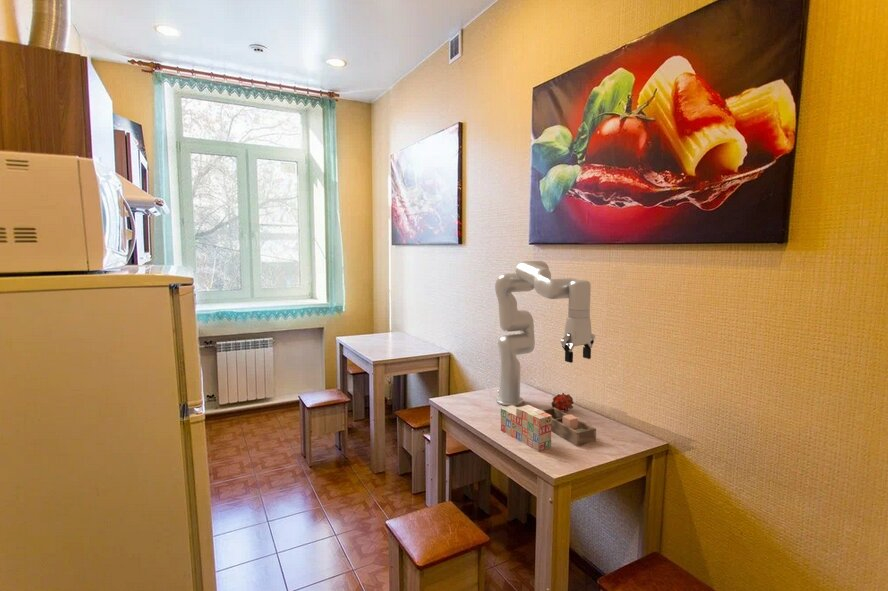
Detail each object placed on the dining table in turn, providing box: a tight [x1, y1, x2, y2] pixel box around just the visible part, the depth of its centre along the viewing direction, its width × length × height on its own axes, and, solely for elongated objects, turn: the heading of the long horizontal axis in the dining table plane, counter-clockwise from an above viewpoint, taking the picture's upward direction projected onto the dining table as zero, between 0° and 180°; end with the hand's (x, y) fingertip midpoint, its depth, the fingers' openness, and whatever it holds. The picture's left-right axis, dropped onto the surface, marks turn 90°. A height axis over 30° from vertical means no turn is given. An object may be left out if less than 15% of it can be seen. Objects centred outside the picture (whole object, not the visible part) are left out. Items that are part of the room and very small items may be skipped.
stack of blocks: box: [500, 404, 552, 452], centre depth 164 cm, size 21×6×12 cm, turn 32°
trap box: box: [541, 407, 597, 447], centre depth 170 cm, size 24×9×5 cm, turn 25°
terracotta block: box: [562, 413, 579, 429], centre depth 167 cm, size 4×4×4 cm
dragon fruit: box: [551, 392, 575, 414], centre depth 192 cm, size 8×8×12 cm
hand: (577, 360), depth 161 cm, fingers open, 9 cm apart
